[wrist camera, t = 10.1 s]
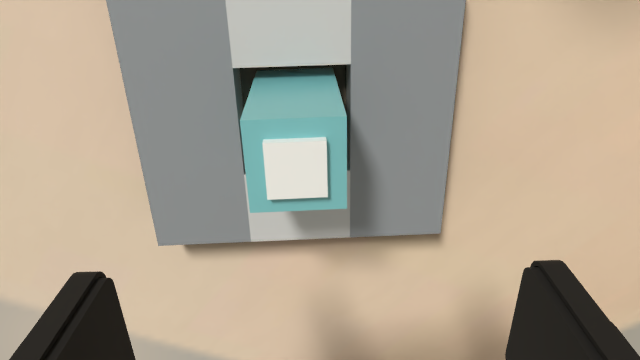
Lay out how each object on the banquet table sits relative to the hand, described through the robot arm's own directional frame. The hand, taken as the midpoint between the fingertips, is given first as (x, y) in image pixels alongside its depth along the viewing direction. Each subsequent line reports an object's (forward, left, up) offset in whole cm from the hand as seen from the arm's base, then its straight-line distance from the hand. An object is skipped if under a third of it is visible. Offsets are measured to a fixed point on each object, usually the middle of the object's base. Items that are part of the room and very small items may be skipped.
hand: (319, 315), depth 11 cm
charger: (+1, 0, -16) cm, 16 cm away
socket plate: (+1, 0, -16) cm, 16 cm away
